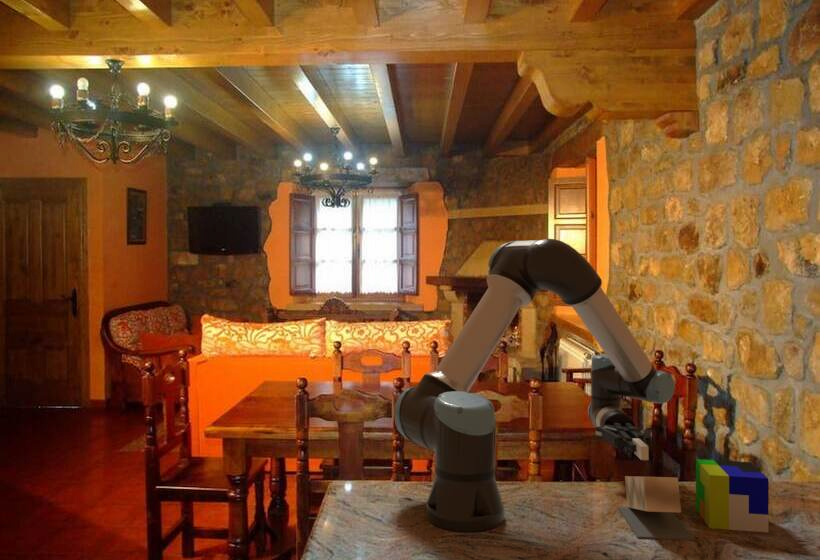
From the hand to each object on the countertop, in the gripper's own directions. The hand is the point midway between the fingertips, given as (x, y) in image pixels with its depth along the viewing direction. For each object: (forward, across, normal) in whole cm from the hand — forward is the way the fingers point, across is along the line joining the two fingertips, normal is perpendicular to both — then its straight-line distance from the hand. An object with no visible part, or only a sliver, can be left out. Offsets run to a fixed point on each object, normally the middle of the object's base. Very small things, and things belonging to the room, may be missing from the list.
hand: (644, 453), depth 125 cm
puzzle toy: (+5, -14, -11) cm, 19 cm away
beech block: (0, +1, -8) cm, 8 cm away
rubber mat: (+8, +1, -11) cm, 14 cm away
